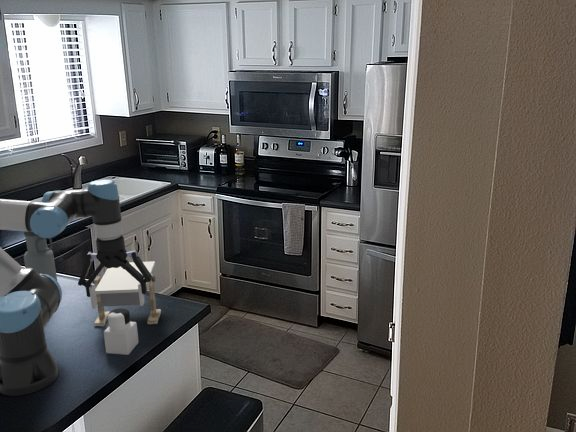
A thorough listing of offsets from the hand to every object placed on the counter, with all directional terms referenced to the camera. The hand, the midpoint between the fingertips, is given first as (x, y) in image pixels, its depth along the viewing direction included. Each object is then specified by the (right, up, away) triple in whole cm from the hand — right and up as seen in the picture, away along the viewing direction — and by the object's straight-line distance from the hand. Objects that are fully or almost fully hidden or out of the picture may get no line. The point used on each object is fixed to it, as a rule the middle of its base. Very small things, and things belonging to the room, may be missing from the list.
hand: (118, 305), depth 158 cm
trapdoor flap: (-4, +1, +22) cm, 22 cm away
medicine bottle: (0, -14, +4) cm, 14 cm away
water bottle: (-41, -2, +44) cm, 60 cm away
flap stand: (-3, -8, +21) cm, 23 cm away
